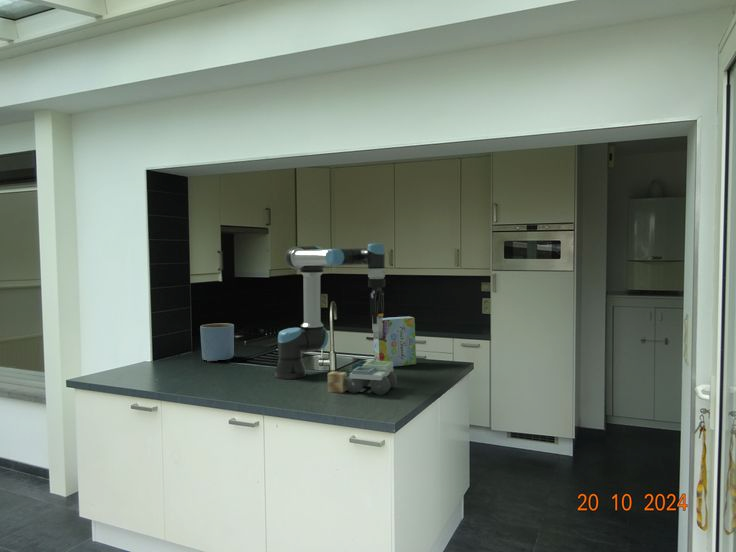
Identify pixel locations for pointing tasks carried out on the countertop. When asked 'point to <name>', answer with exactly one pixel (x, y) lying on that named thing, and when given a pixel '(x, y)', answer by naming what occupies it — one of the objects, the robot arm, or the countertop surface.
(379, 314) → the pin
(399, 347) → the snack box
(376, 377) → the cart
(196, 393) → the countertop surface
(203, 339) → the planter
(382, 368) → the tray
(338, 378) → the chock
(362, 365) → the bracket
